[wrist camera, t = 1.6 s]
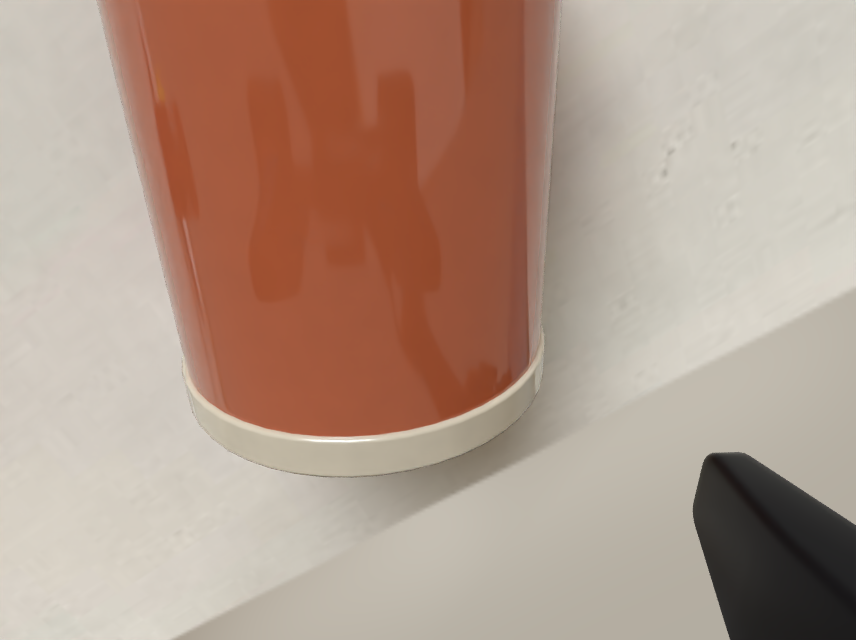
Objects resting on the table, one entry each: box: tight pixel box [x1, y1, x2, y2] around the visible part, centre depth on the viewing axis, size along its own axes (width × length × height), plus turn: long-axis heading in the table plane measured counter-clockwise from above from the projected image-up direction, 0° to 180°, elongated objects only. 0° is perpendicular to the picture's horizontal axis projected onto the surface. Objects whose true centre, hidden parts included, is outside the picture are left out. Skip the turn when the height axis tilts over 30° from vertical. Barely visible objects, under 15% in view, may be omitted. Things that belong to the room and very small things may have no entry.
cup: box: [96, 0, 562, 477], centre depth 11 cm, size 9×7×7 cm
